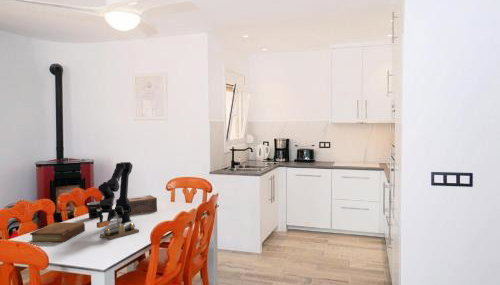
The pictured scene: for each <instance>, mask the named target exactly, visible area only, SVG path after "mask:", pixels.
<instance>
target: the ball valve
mask: <svg viewBox="0 0 500 285" xmlns="http://www.w3.org/2000/svg"><path fill="white" fill-rule="evenodd" d="M135 227H136V226H135V223H133V222H131V223H128V224H126V225H125V224H122V223H118V225H114V227H112V228H105V229H104V230H103V233H100V234H99V237H100V238H103V239H105V240H113V239H118V238H121V237H122V238H123V237H125V236H129V235H133V234H136V233H140V229H138V228H135Z"/></svg>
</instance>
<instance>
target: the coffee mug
mask: <svg viewBox="0 0 500 285" xmlns="http://www.w3.org/2000/svg"><path fill="white" fill-rule="evenodd" d="M99 203H100V201H94V202H93V201H92V202H88V203H86V207H87V212H88V210H89V208H93V207H96V208H97V209H101V208H100V205H99ZM88 218H89V219H93V220H95V219H99V217H98V216H90V214H89V212H88Z"/></svg>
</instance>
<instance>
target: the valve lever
mask: <svg viewBox="0 0 500 285" xmlns="http://www.w3.org/2000/svg"><path fill="white" fill-rule="evenodd" d="M121 222H122V218H118V217H117V218H116V219H114V220H111V221H107V220H103V221H102V222H100V221H99V222H96V228H98V229H100V228H105V227H108V226H110V225H111V224H117V223H121ZM121 224H122V223H121Z"/></svg>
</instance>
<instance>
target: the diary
mask: <svg viewBox="0 0 500 285" xmlns="http://www.w3.org/2000/svg"><path fill="white" fill-rule="evenodd" d="M85 226H86V225H85V223H84V222H53V223H51V224H49V225H48V224H47V225H46V226H43V227H42V228H38V229H37V230H34V231H32V232H30V233H29V235H30V236H31V241H30V242H53V243H56V244H57V243H59V244H60V243H62V244H63V243H65V242H66V241H69V240H70V239H72V238H73V237H76V236H77V235H80V234H81V233H83V232H85V231H86V227H85Z"/></svg>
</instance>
